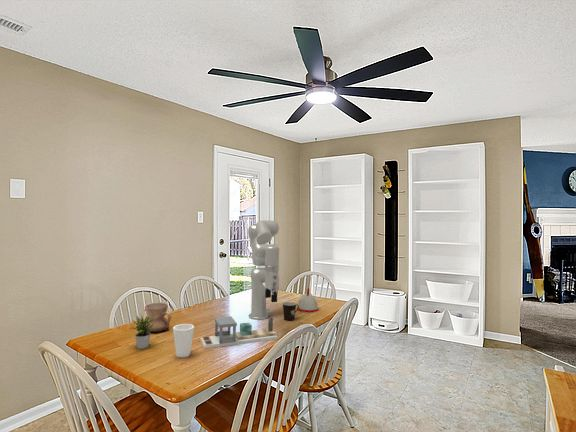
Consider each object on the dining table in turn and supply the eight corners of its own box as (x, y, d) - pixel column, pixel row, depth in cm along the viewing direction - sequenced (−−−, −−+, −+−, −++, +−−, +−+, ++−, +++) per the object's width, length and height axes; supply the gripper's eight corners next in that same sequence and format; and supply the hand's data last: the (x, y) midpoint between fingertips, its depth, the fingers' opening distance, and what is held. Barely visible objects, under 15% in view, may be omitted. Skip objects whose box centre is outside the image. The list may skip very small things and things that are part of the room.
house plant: (157, 352, 166) (158, 317, 166) (125, 354, 162) (126, 319, 162) (159, 341, 179) (160, 309, 179) (130, 343, 175) (131, 311, 175)
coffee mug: (284, 322, 216) (284, 305, 216) (280, 317, 224) (281, 302, 224) (302, 320, 219) (302, 305, 219) (298, 316, 228) (298, 301, 228)
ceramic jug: (134, 331, 193) (134, 306, 192) (152, 323, 206) (153, 300, 206) (160, 337, 187) (161, 310, 186) (177, 328, 200) (178, 303, 200)
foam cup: (177, 350, 169) (178, 323, 168) (196, 351, 168) (196, 324, 167) (169, 358, 159) (169, 329, 159) (188, 359, 158) (189, 330, 158)
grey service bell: (318, 308, 251) (319, 287, 251) (316, 313, 237) (317, 291, 237) (299, 306, 253) (299, 286, 253) (296, 311, 240) (297, 290, 240)
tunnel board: (269, 331, 198) (270, 312, 197) (277, 339, 186) (278, 318, 186) (200, 339, 182) (200, 319, 182) (204, 348, 171) (205, 326, 171)
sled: (271, 330, 195) (271, 315, 195) (276, 334, 188) (276, 319, 188) (234, 334, 187) (234, 319, 187) (238, 339, 180) (238, 323, 180)
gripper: (284, 270, 184) (283, 303, 184) (272, 265, 200) (271, 295, 200) (270, 271, 181) (269, 304, 181) (260, 266, 197) (259, 296, 197)
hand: (271, 299), depth 191 cm, fingers open, 9 cm apart
